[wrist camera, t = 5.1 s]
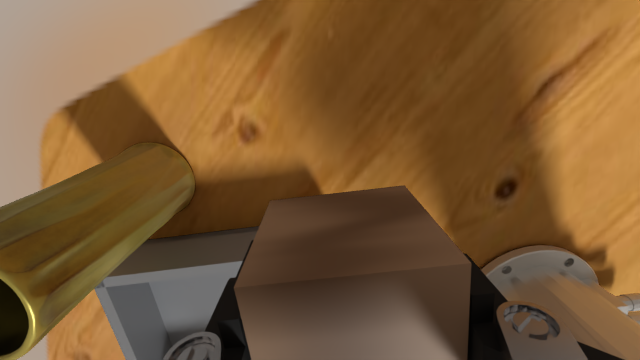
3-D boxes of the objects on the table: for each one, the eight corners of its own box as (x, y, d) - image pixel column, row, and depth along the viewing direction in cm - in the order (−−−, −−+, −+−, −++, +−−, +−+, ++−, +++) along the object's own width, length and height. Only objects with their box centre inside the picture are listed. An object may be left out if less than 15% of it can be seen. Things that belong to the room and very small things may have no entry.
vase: (103, 152, 23) (-196, 259, 9) (178, 132, 23) (-18, 214, 9) (137, 221, 25) (-68, 392, 11) (207, 204, 24) (82, 358, 11)
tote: (335, 217, 25) (341, 248, 20) (348, 339, 30) (356, 388, 25) (131, 241, 25) (90, 279, 21) (175, 359, 30) (149, 412, 25)
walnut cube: (404, 185, 11) (471, 263, 6) (408, 297, 12) (464, 429, 8) (270, 200, 11) (233, 287, 6) (290, 309, 13) (272, 446, 8)
